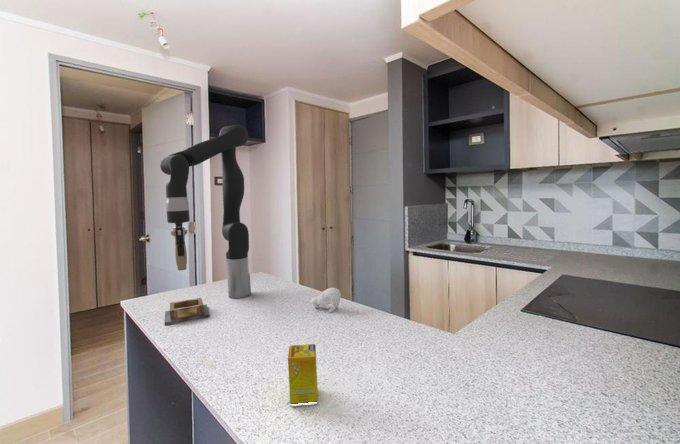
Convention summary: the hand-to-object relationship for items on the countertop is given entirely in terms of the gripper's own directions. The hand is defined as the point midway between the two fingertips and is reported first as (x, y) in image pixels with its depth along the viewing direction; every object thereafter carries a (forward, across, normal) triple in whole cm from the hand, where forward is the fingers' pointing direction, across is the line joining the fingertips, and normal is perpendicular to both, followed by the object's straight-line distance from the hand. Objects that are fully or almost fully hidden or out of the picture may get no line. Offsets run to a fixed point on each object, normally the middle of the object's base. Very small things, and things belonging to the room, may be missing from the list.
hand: (181, 254), depth 124 cm
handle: (+6, 0, 0) cm, 6 cm away
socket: (+23, -1, 0) cm, 23 cm away
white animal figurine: (+23, -22, -49) cm, 59 cm away
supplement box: (+24, -71, -23) cm, 78 cm away
